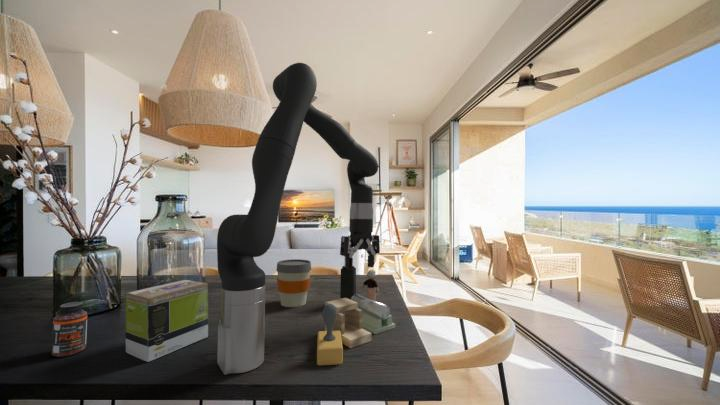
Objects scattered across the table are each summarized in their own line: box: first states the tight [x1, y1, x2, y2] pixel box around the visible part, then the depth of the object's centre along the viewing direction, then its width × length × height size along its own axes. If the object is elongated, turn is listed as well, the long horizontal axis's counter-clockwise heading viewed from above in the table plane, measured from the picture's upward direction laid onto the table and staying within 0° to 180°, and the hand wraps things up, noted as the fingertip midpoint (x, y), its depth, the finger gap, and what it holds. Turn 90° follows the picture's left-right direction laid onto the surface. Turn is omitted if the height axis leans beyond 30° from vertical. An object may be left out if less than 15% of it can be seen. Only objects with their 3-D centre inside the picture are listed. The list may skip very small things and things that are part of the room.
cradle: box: [362, 311, 397, 335], centre depth 91 cm, size 8×13×4 cm, turn 39°
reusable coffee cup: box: [276, 258, 312, 308], centre depth 110 cm, size 13×13×15 cm
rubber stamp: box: [316, 304, 344, 366], centre depth 72 cm, size 10×6×12 cm, turn 7°
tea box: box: [124, 279, 209, 363], centre depth 75 cm, size 15×10×15 cm, turn 152°
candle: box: [339, 234, 357, 300], centre depth 110 cm, size 5×5×25 cm
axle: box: [351, 293, 391, 320], centre depth 91 cm, size 14×4×4 cm, turn 38°
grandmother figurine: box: [362, 269, 380, 302], centre depth 109 cm, size 8×4×13 cm, turn 58°
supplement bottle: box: [51, 301, 88, 358], centre depth 71 cm, size 6×6×11 cm
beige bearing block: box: [324, 298, 373, 349], centre depth 81 cm, size 7×12×8 cm, turn 39°
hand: (360, 268), depth 95 cm, fingers open, 8 cm apart
